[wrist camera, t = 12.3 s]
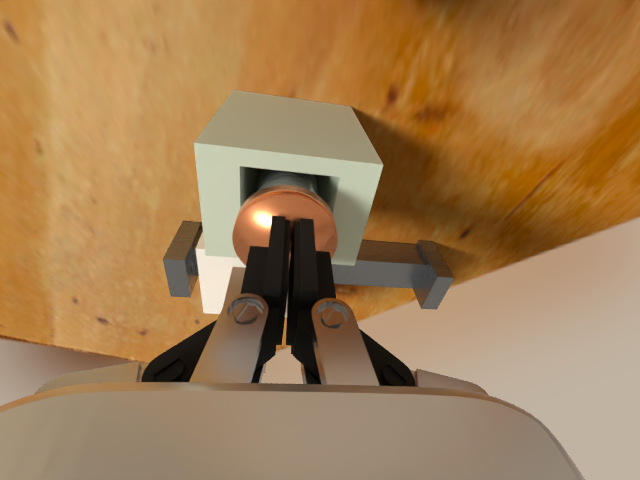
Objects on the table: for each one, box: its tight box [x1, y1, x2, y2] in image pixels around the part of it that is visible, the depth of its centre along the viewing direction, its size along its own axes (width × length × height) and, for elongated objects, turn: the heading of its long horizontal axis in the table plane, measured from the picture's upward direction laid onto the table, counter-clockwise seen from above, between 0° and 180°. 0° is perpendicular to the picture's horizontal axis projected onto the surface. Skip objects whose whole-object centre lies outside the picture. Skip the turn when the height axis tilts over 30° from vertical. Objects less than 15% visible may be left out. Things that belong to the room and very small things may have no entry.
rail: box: [163, 221, 454, 309], centre depth 27 cm, size 23×4×5 cm, turn 82°
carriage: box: [196, 232, 288, 373], centre depth 23 cm, size 8×7×10 cm
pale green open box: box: [194, 90, 383, 266], centre depth 19 cm, size 8×6×10 cm
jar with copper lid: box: [232, 169, 338, 266], centre depth 15 cm, size 4×4×6 cm
